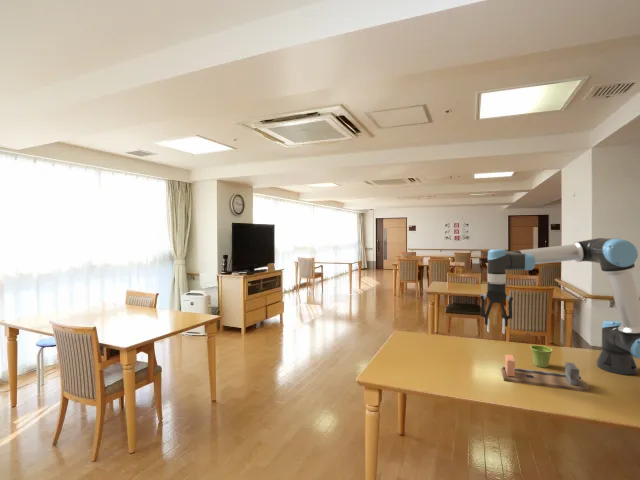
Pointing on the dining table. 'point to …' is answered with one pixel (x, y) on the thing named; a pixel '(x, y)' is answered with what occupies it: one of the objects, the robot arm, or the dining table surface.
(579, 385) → the board
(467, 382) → the dining table surface
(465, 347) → the dining table surface
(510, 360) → the sliding point
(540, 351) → the plant pot
